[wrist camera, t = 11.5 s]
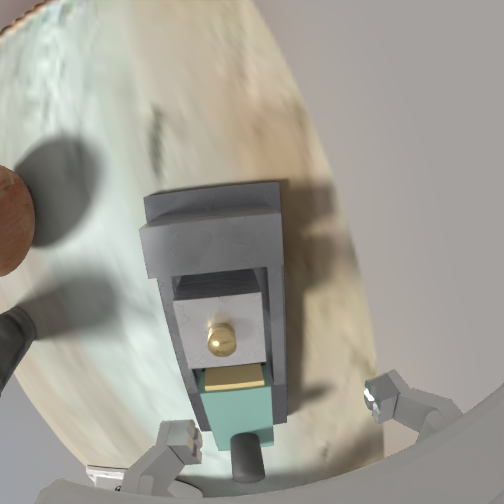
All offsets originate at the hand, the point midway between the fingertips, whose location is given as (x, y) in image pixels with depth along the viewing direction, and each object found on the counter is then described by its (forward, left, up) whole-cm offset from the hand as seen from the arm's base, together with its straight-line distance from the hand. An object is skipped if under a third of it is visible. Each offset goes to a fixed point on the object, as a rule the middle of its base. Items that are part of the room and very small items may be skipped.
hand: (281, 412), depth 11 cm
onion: (-21, +10, -13) cm, 27 cm away
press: (-2, -4, -13) cm, 13 cm away
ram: (-2, -11, -12) cm, 17 cm away
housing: (-2, +1, -12) cm, 12 cm away
